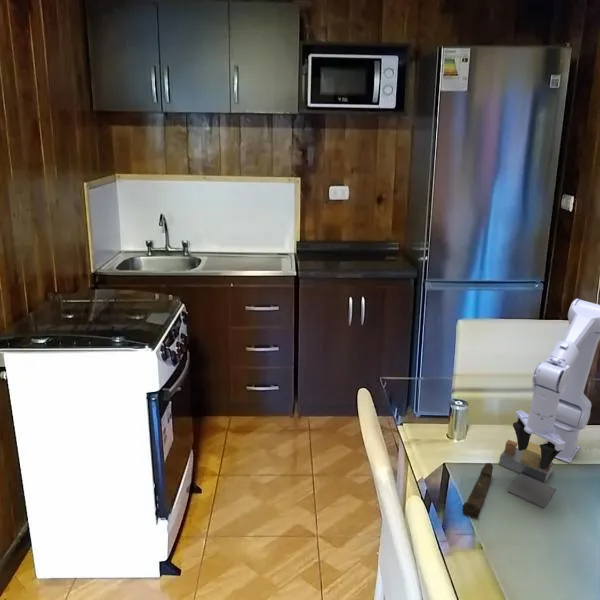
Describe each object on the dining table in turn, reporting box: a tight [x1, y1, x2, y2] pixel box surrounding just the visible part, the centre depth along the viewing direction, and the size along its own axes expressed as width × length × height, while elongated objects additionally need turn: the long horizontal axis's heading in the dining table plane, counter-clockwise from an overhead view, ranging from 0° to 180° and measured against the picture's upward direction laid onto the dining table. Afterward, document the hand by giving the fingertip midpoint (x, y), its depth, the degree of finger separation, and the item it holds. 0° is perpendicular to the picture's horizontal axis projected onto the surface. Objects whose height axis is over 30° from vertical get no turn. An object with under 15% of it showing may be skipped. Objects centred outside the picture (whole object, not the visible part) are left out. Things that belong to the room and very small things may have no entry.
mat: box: [507, 473, 557, 509], centre depth 151 cm, size 9×9×1 cm
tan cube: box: [521, 441, 541, 468], centre depth 157 cm, size 4×4×4 cm
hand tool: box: [461, 462, 494, 518], centre depth 148 cm, size 19×4×5 cm, turn 148°
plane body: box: [498, 439, 555, 484], centre depth 158 cm, size 6×12×6 cm, turn 51°
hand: (533, 458), depth 147 cm, fingers open, 7 cm apart
